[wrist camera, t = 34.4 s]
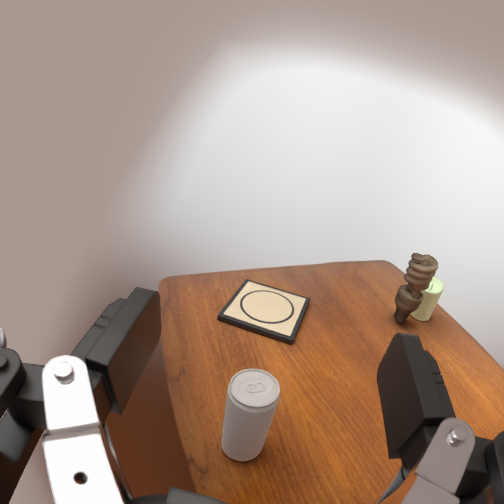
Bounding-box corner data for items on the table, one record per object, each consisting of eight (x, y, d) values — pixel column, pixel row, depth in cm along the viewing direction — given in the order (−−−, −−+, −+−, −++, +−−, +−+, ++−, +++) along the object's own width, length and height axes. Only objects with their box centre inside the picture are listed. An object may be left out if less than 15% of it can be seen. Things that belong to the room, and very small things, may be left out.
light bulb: (416, 328, 57) (446, 261, 50) (398, 334, 55) (428, 264, 48) (399, 311, 61) (425, 246, 54) (381, 316, 59) (406, 248, 52)
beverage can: (216, 433, 34) (221, 371, 28) (254, 426, 36) (270, 363, 30) (227, 467, 30) (237, 412, 24) (267, 458, 32) (289, 401, 26)
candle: (423, 324, 58) (439, 291, 54) (405, 312, 61) (419, 278, 57) (432, 316, 60) (447, 284, 57) (415, 304, 64) (428, 272, 60)
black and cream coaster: (217, 319, 53) (217, 314, 53) (245, 283, 64) (246, 278, 64) (291, 345, 50) (293, 339, 49) (309, 302, 61) (310, 297, 60)
